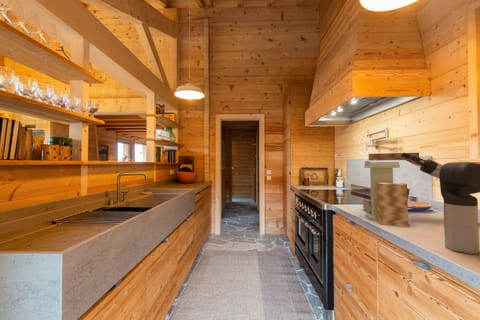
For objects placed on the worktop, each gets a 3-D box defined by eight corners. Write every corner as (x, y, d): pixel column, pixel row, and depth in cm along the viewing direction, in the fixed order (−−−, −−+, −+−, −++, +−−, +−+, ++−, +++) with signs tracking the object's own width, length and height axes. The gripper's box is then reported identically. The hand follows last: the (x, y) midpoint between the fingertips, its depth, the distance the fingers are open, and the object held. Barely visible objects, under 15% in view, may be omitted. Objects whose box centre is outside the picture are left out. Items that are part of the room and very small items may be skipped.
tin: (375, 214, 139) (375, 201, 139) (370, 214, 140) (370, 201, 140) (366, 209, 154) (366, 197, 154) (362, 209, 154) (361, 197, 154)
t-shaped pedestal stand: (395, 218, 130) (394, 160, 130) (401, 222, 120) (399, 160, 121) (365, 216, 135) (364, 161, 136) (368, 219, 126) (367, 161, 127)
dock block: (403, 222, 120) (402, 182, 120) (409, 226, 112) (408, 184, 112) (376, 220, 125) (375, 182, 125) (380, 224, 116) (379, 183, 117)
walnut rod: (416, 159, 124) (416, 152, 124) (419, 159, 120) (419, 152, 120) (368, 160, 133) (368, 154, 133) (370, 160, 129) (369, 153, 129)
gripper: (435, 175, 114) (401, 159, 119) (423, 174, 127) (393, 159, 132) (444, 162, 112) (409, 147, 118) (431, 162, 126) (400, 149, 131)
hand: (401, 154), depth 125 cm, fingers closed on walnut rod, 4 cm apart
